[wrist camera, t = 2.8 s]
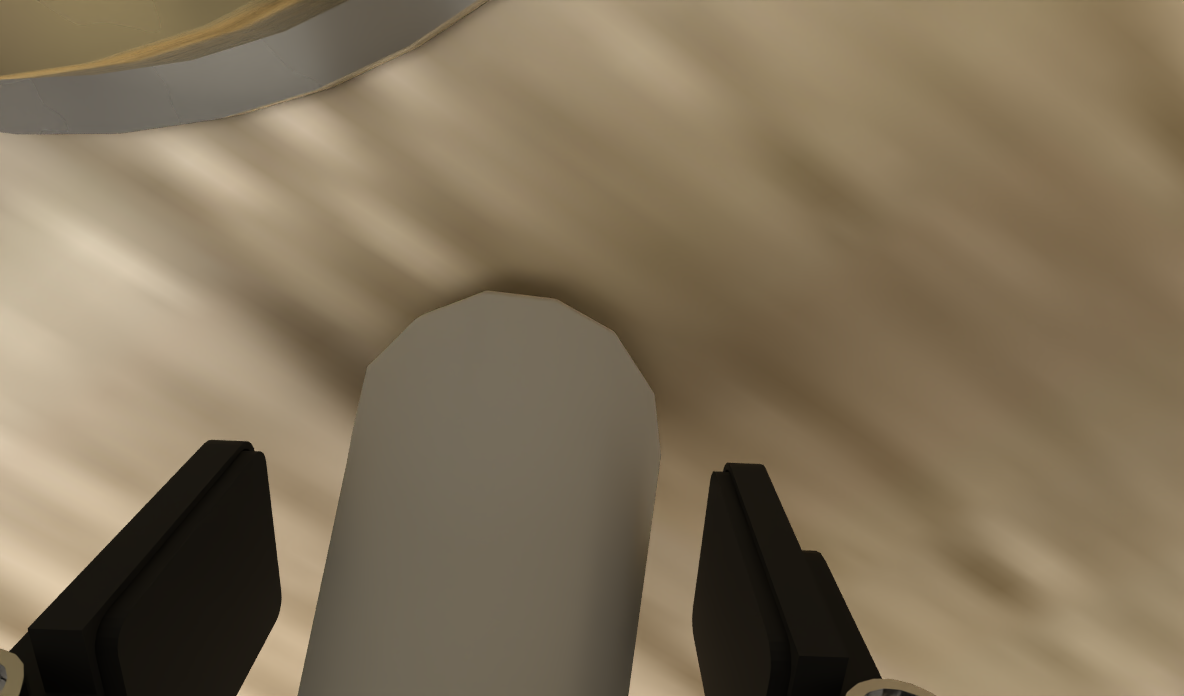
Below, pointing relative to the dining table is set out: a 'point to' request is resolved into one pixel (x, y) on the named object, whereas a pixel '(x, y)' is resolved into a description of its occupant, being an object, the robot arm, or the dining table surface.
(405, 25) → the round white base
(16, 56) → the round wooden platform
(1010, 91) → the dining table surface
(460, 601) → the salt shaker
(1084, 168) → the dining table surface
